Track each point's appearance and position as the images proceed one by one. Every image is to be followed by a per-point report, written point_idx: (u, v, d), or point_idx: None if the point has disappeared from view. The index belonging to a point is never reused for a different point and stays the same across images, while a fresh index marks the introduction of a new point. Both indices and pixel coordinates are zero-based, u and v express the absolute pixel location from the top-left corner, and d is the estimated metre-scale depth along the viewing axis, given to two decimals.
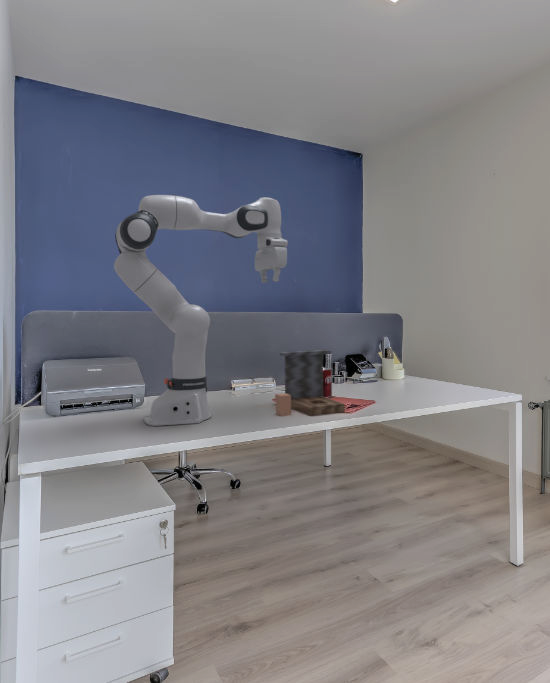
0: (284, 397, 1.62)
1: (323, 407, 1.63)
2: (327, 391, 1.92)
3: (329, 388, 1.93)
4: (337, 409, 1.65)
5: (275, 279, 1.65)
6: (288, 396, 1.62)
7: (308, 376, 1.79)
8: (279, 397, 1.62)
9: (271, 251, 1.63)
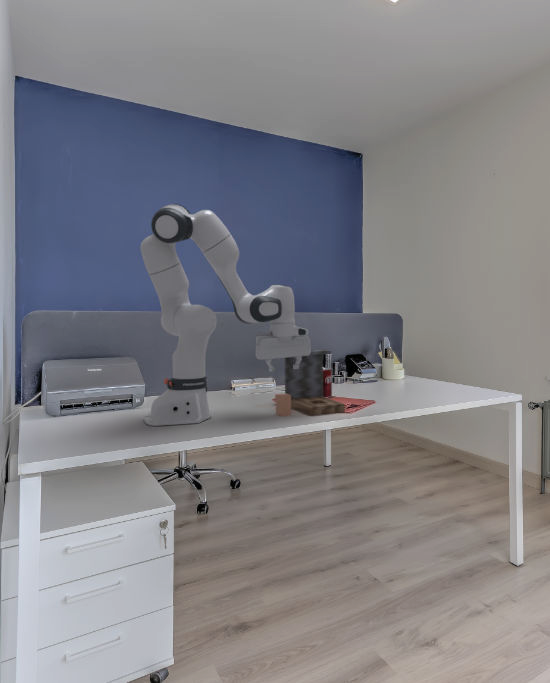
0: (284, 397, 1.62)
1: (323, 407, 1.63)
2: (327, 391, 1.92)
3: (329, 388, 1.93)
4: (337, 409, 1.65)
5: None
6: (288, 396, 1.62)
7: (308, 376, 1.79)
8: (279, 397, 1.62)
9: (299, 340, 1.63)
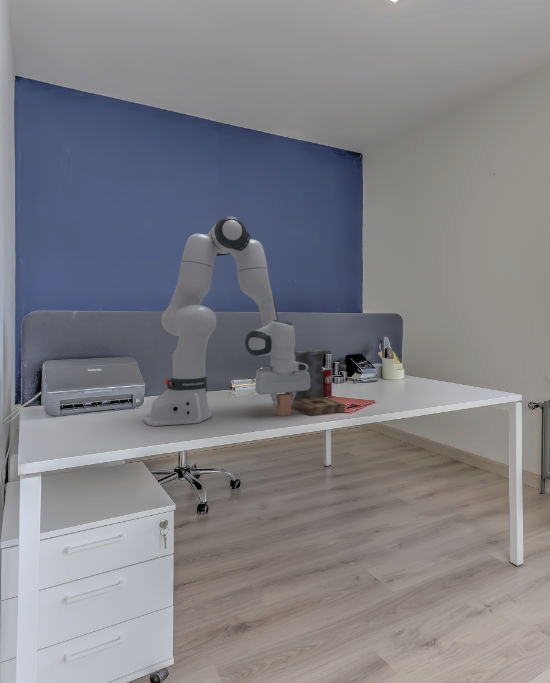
0: (284, 397, 1.62)
1: (323, 407, 1.63)
2: (327, 391, 1.92)
3: (329, 388, 1.93)
4: (337, 409, 1.65)
5: None
6: (288, 396, 1.62)
7: None
8: (279, 397, 1.62)
9: (299, 375, 1.64)
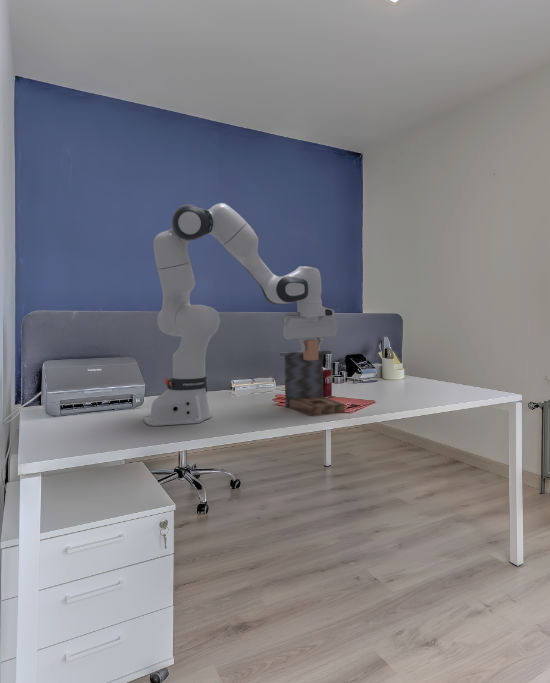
0: (311, 342, 1.64)
1: (323, 407, 1.63)
2: (327, 391, 1.92)
3: (329, 388, 1.93)
4: (337, 409, 1.65)
5: None
6: (315, 341, 1.65)
7: (308, 376, 1.79)
8: (306, 342, 1.64)
9: (326, 320, 1.66)
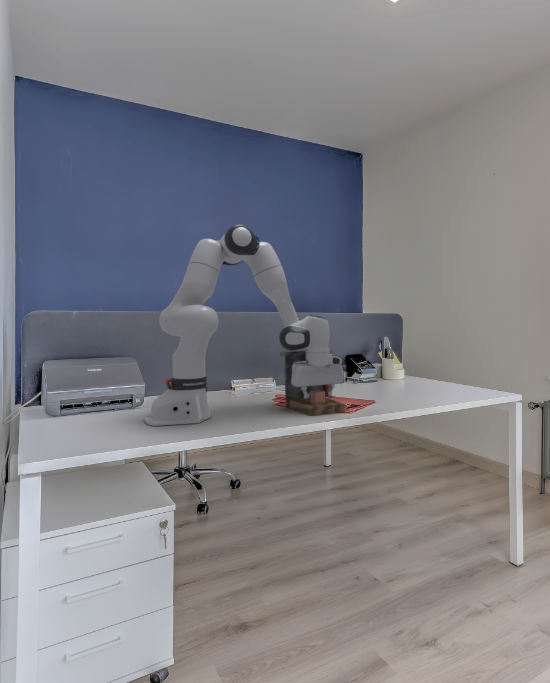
0: (319, 394, 1.67)
1: (323, 407, 1.63)
2: None
3: None
4: (337, 409, 1.65)
5: None
6: (322, 393, 1.68)
7: None
8: (314, 394, 1.68)
9: (333, 368, 1.69)
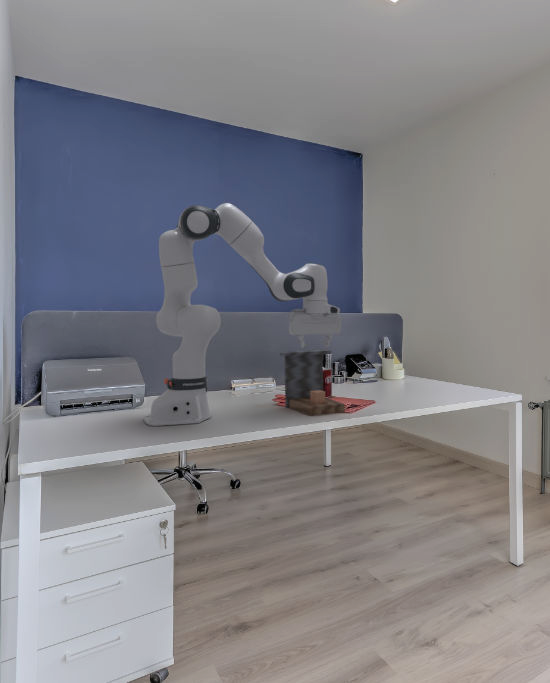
0: (319, 394, 1.67)
1: (323, 407, 1.63)
2: (327, 391, 1.92)
3: (329, 388, 1.93)
4: (337, 409, 1.65)
5: None
6: (322, 393, 1.68)
7: (308, 376, 1.79)
8: (314, 394, 1.68)
9: (331, 318, 1.68)
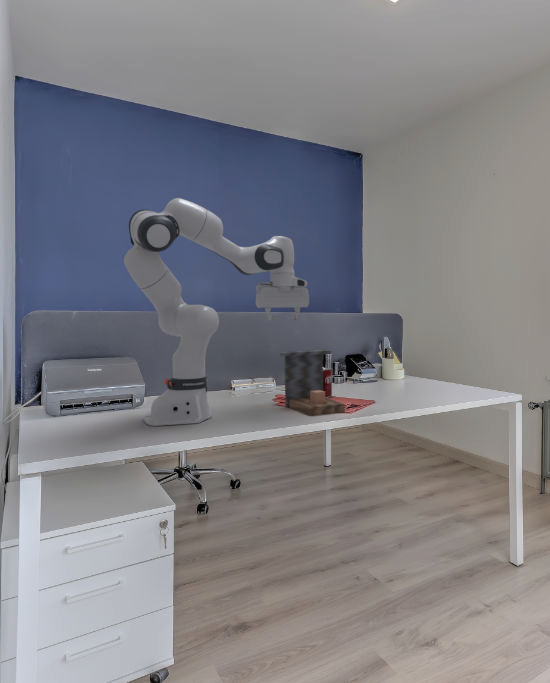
0: (319, 394, 1.67)
1: (323, 407, 1.63)
2: (327, 391, 1.92)
3: (329, 388, 1.93)
4: (337, 409, 1.65)
5: None
6: (322, 393, 1.68)
7: (308, 376, 1.79)
8: (314, 394, 1.68)
9: (298, 291, 1.68)
